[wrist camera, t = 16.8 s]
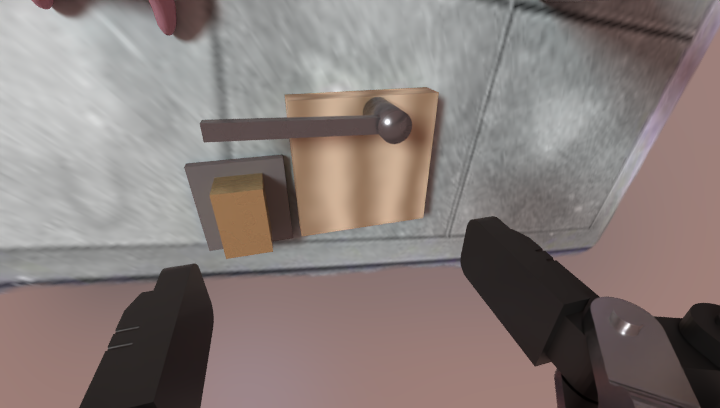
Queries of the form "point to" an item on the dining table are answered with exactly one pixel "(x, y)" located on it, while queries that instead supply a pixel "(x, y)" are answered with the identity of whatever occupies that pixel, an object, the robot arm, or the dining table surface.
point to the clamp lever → (315, 125)
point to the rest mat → (207, 171)
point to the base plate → (361, 163)
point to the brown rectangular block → (242, 214)
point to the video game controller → (161, 7)
